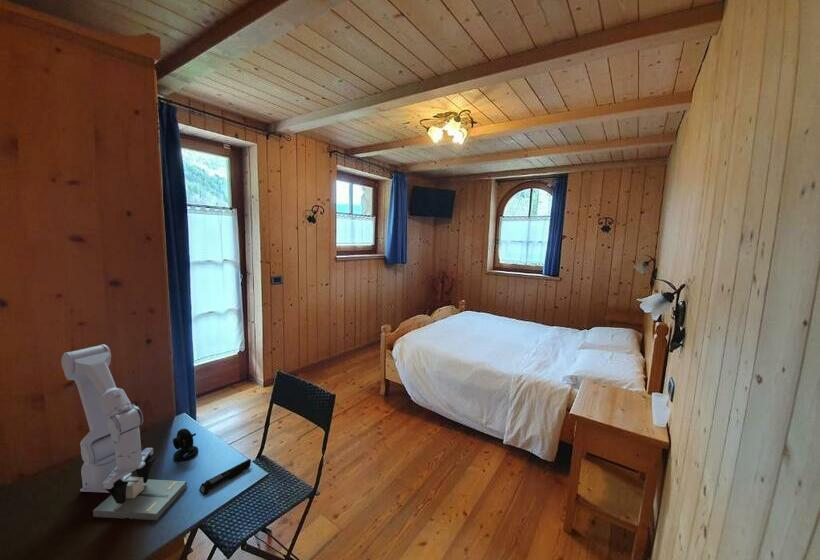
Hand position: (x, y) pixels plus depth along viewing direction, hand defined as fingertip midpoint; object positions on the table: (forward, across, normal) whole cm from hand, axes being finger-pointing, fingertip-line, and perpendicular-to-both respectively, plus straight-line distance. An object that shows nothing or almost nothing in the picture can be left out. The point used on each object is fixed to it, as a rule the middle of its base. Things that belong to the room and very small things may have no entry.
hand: (132, 491), depth 96 cm
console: (+3, 0, -3) cm, 4 cm away
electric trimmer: (+3, +10, -22) cm, 24 cm away
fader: (0, 0, 0) cm, 0 cm away
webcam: (+3, +20, -2) cm, 20 cm away
